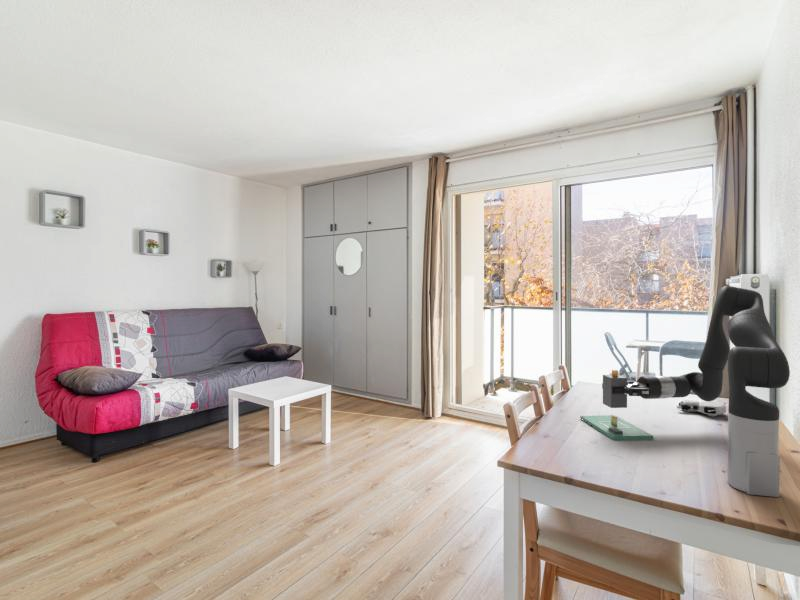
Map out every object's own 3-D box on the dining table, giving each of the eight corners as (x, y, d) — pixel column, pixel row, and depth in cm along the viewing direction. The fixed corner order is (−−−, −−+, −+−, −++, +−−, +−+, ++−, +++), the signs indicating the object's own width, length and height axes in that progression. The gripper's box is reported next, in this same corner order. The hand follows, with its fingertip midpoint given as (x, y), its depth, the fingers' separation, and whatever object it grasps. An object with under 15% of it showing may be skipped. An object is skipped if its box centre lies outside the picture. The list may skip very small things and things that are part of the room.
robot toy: (675, 414, 164) (724, 420, 153) (674, 403, 164) (723, 407, 153) (682, 408, 172) (728, 413, 162) (681, 397, 172) (727, 401, 162)
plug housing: (626, 407, 141) (627, 371, 141) (611, 407, 141) (611, 372, 141) (618, 403, 147) (618, 368, 146) (602, 403, 147) (602, 369, 146)
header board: (653, 439, 133) (653, 426, 133) (613, 440, 133) (613, 426, 132) (615, 418, 155) (615, 407, 155) (580, 419, 155) (580, 407, 154)
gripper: (643, 372, 151) (596, 372, 151) (670, 381, 137) (619, 381, 136) (642, 392, 152) (596, 393, 151) (670, 404, 137) (618, 405, 137)
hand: (607, 388), depth 144 cm, fingers closed on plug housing, 5 cm apart
